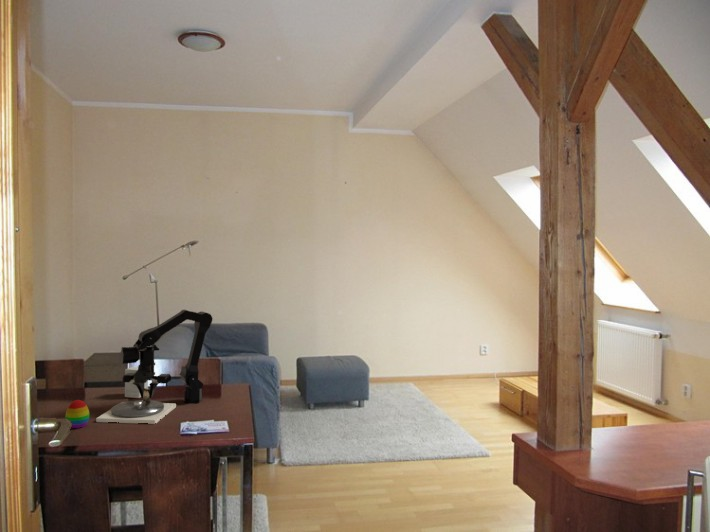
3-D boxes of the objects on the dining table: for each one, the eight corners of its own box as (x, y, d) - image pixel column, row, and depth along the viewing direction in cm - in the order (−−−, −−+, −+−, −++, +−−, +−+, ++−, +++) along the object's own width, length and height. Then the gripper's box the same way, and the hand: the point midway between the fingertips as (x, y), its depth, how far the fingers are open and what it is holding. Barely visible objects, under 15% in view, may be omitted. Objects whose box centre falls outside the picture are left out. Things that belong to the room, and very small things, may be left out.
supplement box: (139, 398, 259) (139, 370, 258) (124, 397, 260) (124, 369, 260) (148, 394, 266) (148, 366, 265) (133, 393, 267) (133, 365, 267)
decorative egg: (81, 421, 225) (81, 396, 225) (93, 425, 220) (93, 399, 220) (61, 426, 218) (60, 400, 218) (72, 431, 214) (72, 404, 213)
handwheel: (152, 418, 225) (152, 402, 225) (101, 416, 226) (101, 400, 226) (171, 403, 246) (171, 388, 245) (124, 401, 246) (125, 387, 246)
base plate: (175, 407, 247) (175, 403, 247) (155, 424, 224) (155, 419, 224) (122, 405, 248) (122, 401, 248) (96, 422, 225) (96, 417, 225)
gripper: (116, 364, 236) (116, 403, 237) (161, 366, 235) (161, 404, 236) (128, 359, 247) (128, 395, 248) (171, 360, 246) (171, 397, 247)
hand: (146, 398), depth 244 cm, fingers closed on handwheel, 3 cm apart
